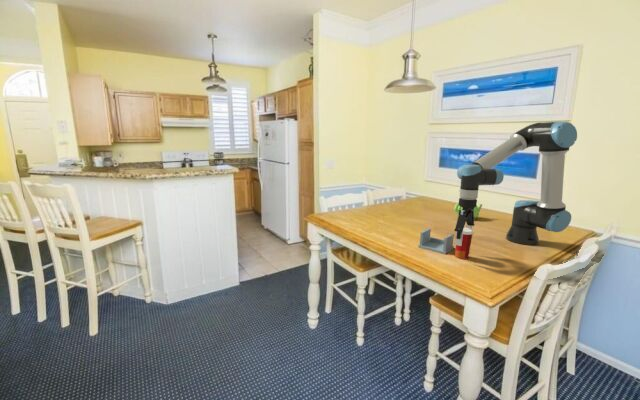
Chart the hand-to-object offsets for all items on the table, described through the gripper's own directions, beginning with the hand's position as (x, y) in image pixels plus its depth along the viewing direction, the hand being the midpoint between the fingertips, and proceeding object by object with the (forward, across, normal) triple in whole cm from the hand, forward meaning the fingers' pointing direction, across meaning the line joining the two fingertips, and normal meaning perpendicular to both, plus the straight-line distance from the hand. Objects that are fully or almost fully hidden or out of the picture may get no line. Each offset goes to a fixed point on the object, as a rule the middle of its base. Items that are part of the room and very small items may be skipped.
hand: (463, 241), depth 143 cm
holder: (+8, -4, -14) cm, 17 cm away
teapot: (+8, -79, -21) cm, 82 cm away
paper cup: (+8, 0, 0) cm, 8 cm away
